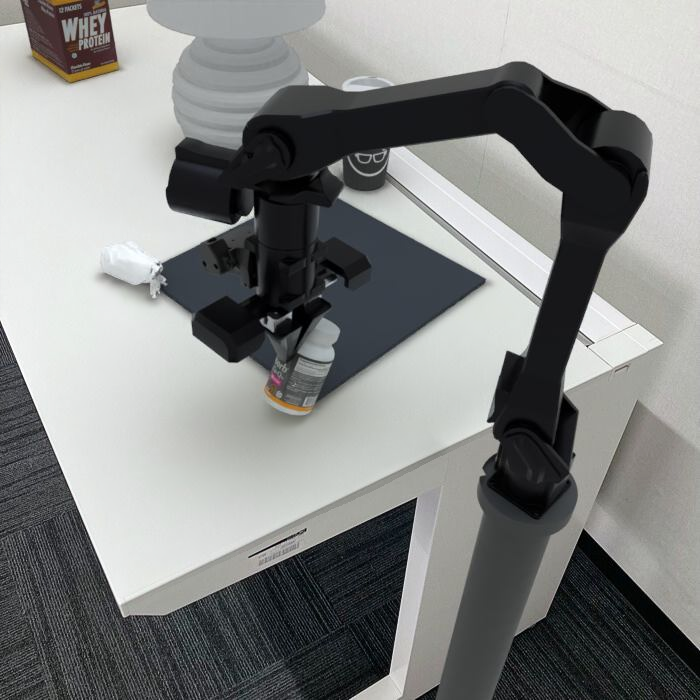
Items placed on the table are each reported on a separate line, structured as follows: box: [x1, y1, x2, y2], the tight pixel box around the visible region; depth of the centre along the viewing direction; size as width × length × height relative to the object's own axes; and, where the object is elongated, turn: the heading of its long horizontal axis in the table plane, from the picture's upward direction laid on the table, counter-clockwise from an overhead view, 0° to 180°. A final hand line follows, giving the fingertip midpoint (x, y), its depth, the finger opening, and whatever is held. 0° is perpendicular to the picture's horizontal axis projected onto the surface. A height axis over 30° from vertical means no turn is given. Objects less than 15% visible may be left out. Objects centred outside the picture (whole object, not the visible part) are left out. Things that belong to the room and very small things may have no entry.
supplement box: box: [19, 0, 120, 83], centre depth 146 cm, size 10×15×16 cm
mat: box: [159, 197, 487, 404], centre depth 104 cm, size 32×32×1 cm
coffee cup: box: [340, 75, 396, 192], centre depth 119 cm, size 10×10×15 cm
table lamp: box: [145, 0, 327, 150], centre depth 115 cm, size 25×25×40 cm
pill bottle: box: [262, 318, 340, 416], centre depth 84 cm, size 6×6×10 cm
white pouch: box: [99, 240, 167, 299], centre depth 100 cm, size 5×7×10 cm
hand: (285, 359), depth 81 cm, fingers closed
